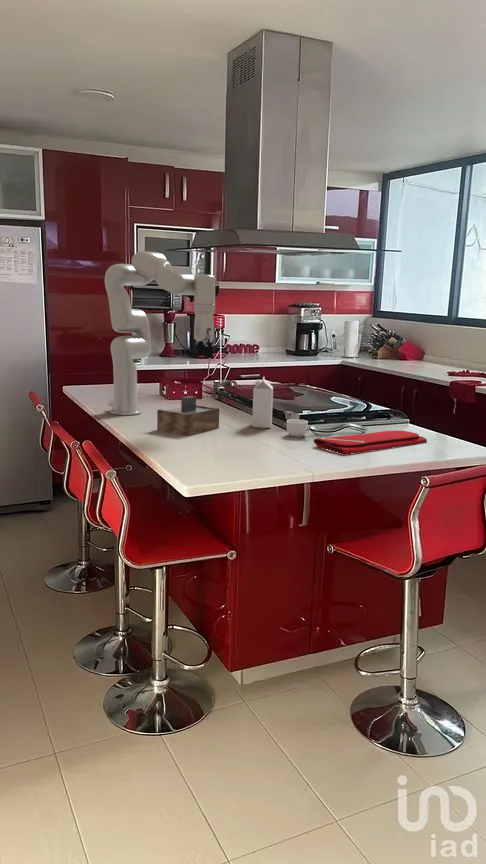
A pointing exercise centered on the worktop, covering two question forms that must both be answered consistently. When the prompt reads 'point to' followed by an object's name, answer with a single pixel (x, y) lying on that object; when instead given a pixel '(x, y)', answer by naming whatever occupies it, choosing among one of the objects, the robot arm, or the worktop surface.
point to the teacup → (297, 427)
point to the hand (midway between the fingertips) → (204, 356)
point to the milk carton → (262, 404)
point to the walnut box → (188, 421)
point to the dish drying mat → (369, 441)
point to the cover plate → (188, 406)
